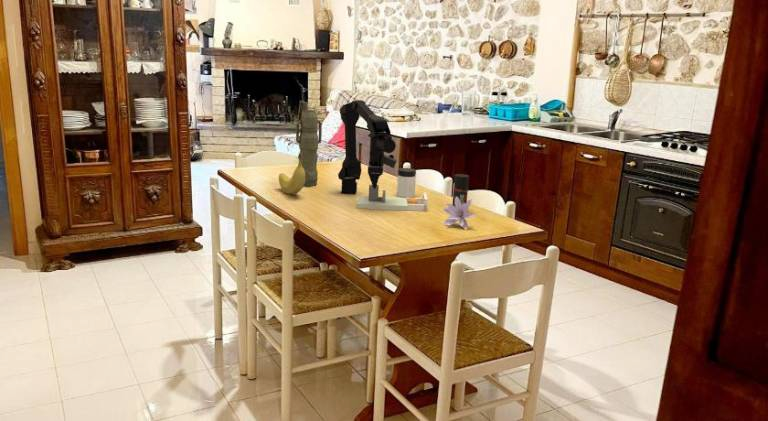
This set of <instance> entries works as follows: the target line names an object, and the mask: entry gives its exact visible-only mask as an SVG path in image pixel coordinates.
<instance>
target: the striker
mask: <svg viewBox="0 0 768 421" xmlns="http://www.w3.org/2000/svg"><path fill="white" fill-rule="evenodd" d="M379 189H380V185H378V184H377V186H376V188H373V186H372V184H369V185H368V196H369V200H368V201H382V202H385V197H386V194H387V193H386V191H387V190H386V189H382V196H379V191H380V190H379Z"/></svg>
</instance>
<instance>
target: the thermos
mask: <svg viewBox="0 0 768 421" xmlns="http://www.w3.org/2000/svg"><path fill="white" fill-rule="evenodd" d="M322 129H323V124H322V122H321V121H320V120H318V114H317V111H315V110H312V109H304V110H302V113H301V116H300V119H299V120H297V121H296V124H295V142H296V143H297V144H298V148H299V153H302V159H301V164H302V167H303V169H304V171H305V183H304V186H305V187H304V188H312V187H311V186H315V187H317V186H318V179H319V178H318V177H319V176H318V175H319V172H318V169H317V168H318V167H317V163H318V150H319V144H321V143H322V131H323V130H322ZM316 185H317V186H316Z"/></svg>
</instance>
